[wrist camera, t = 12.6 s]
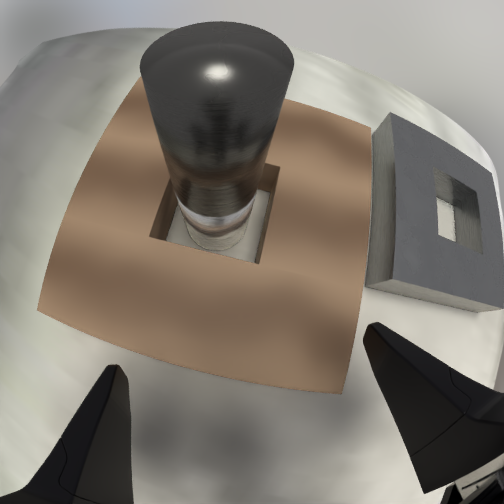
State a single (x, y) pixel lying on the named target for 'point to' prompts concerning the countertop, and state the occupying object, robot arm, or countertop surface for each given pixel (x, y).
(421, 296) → the socket block
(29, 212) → the countertop surface
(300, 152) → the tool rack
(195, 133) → the dark rounded cylinder
